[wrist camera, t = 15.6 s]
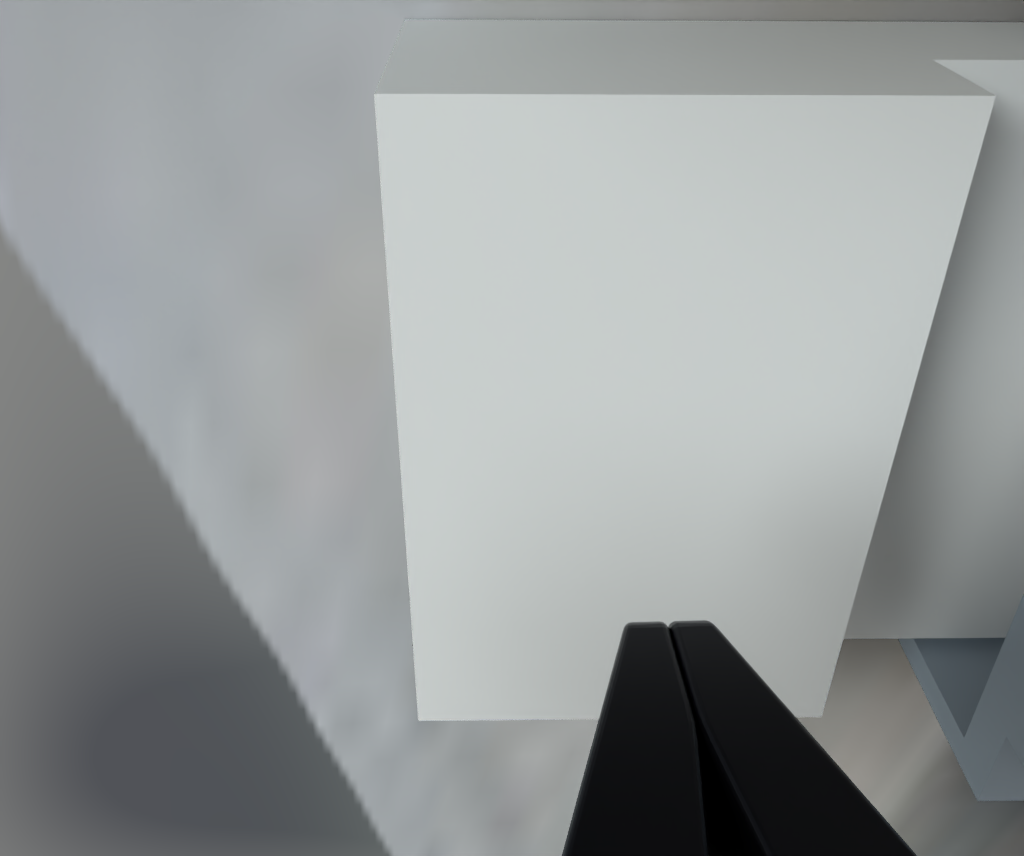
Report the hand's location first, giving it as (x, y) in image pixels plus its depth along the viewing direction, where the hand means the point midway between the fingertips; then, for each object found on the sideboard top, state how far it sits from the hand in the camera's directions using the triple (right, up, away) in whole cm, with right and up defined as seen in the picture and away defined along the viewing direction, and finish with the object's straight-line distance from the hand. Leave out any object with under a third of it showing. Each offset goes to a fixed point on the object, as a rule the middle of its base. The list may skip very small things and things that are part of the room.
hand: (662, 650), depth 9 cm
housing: (+7, +4, +11) cm, 13 cm away
